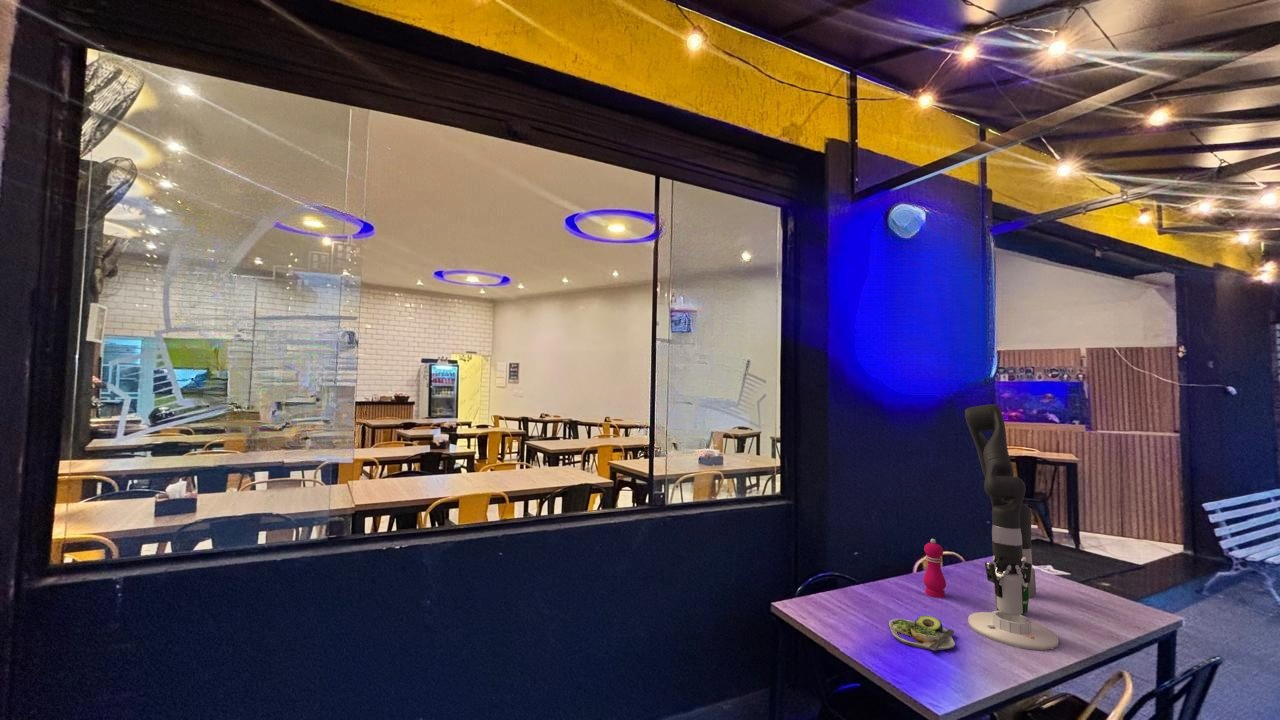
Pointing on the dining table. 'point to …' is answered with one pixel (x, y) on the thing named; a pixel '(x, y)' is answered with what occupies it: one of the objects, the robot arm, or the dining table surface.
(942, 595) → the pepper mill
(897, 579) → the dining table surface
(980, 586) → the dining table surface
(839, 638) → the dining table surface
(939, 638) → the salad plate
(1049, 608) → the dining table surface
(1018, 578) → the beverage can
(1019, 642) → the twist-lock holder
